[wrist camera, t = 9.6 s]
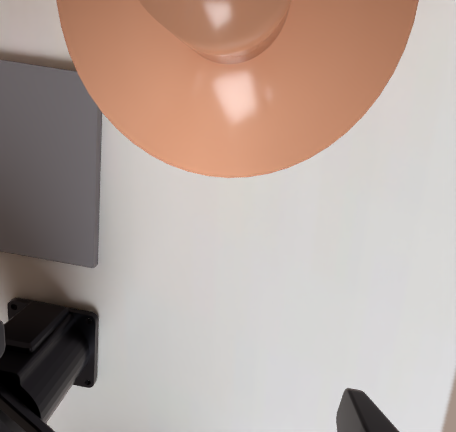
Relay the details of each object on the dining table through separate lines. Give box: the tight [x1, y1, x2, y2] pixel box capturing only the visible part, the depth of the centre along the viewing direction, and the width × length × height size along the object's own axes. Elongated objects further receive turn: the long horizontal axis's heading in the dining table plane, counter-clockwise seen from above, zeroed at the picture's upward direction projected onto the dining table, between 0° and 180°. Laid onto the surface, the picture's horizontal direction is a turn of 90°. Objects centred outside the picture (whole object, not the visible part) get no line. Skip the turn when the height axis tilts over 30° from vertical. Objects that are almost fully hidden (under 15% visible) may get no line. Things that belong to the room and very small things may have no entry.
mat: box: [0, 60, 102, 268], centre depth 21 cm, size 12×12×1 cm
